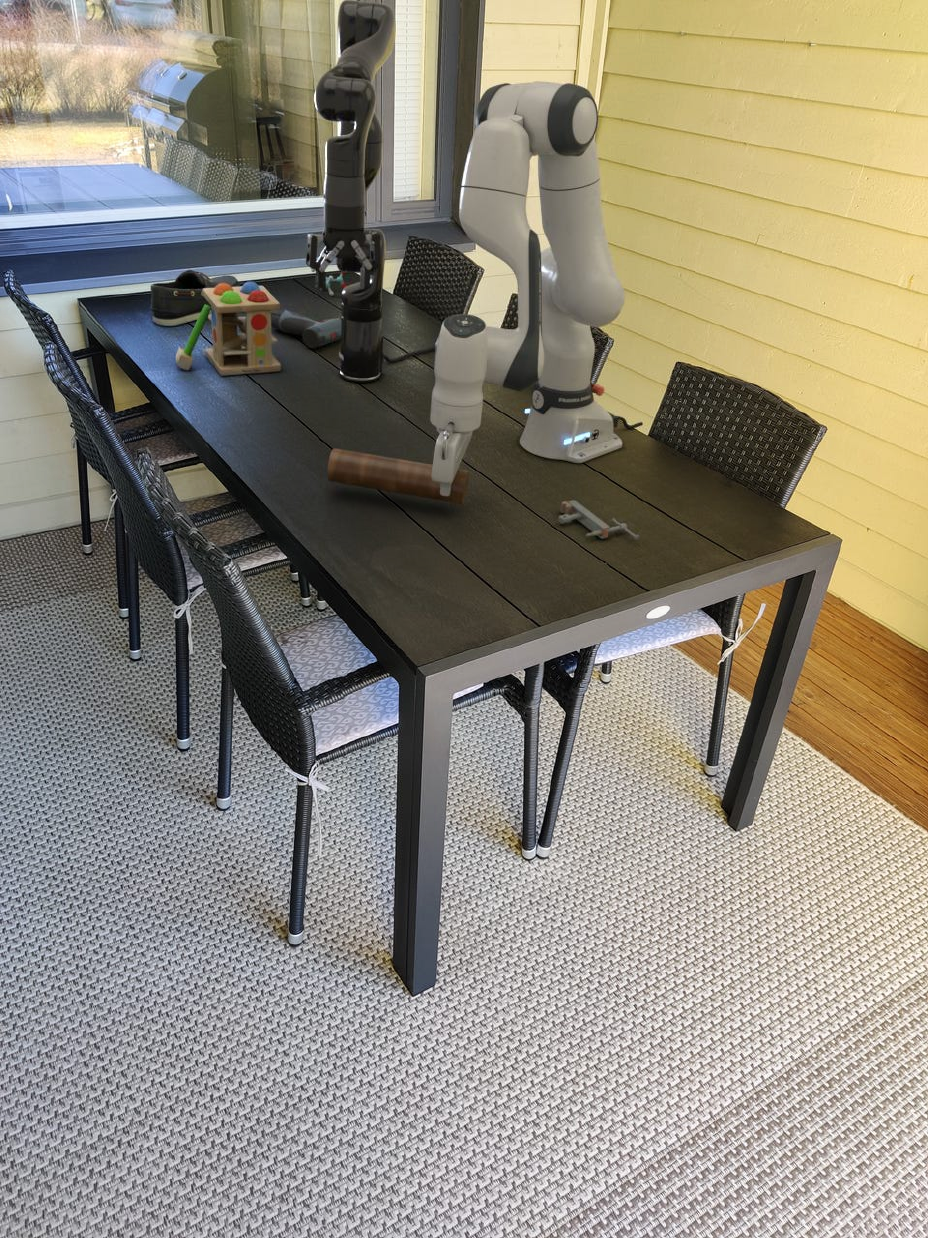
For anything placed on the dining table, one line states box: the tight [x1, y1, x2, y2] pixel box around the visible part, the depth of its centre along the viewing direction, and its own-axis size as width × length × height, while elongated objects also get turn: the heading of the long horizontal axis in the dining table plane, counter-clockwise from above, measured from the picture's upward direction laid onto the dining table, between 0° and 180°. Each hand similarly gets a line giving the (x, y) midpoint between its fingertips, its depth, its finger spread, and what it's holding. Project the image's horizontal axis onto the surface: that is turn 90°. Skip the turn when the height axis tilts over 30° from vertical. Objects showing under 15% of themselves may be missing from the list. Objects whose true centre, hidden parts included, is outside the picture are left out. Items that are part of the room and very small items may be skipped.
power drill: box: [271, 308, 341, 349], centre depth 252 cm, size 5×19×20 cm
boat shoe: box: [149, 269, 241, 327], centre depth 259 cm, size 13×33×10 cm, turn 147°
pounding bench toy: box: [174, 281, 282, 377], centre depth 225 cm, size 23×14×18 cm, turn 116°
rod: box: [327, 447, 470, 505], centre depth 178 cm, size 25×6×6 cm, turn 80°
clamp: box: [558, 499, 640, 541], centre depth 178 cm, size 15×2×10 cm
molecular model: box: [310, 268, 348, 297], centre depth 283 cm, size 12×10×10 cm
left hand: (343, 289), depth 189 cm, fingers open, 8 cm apart
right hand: (449, 485), depth 177 cm, fingers closed on rod, 6 cm apart
